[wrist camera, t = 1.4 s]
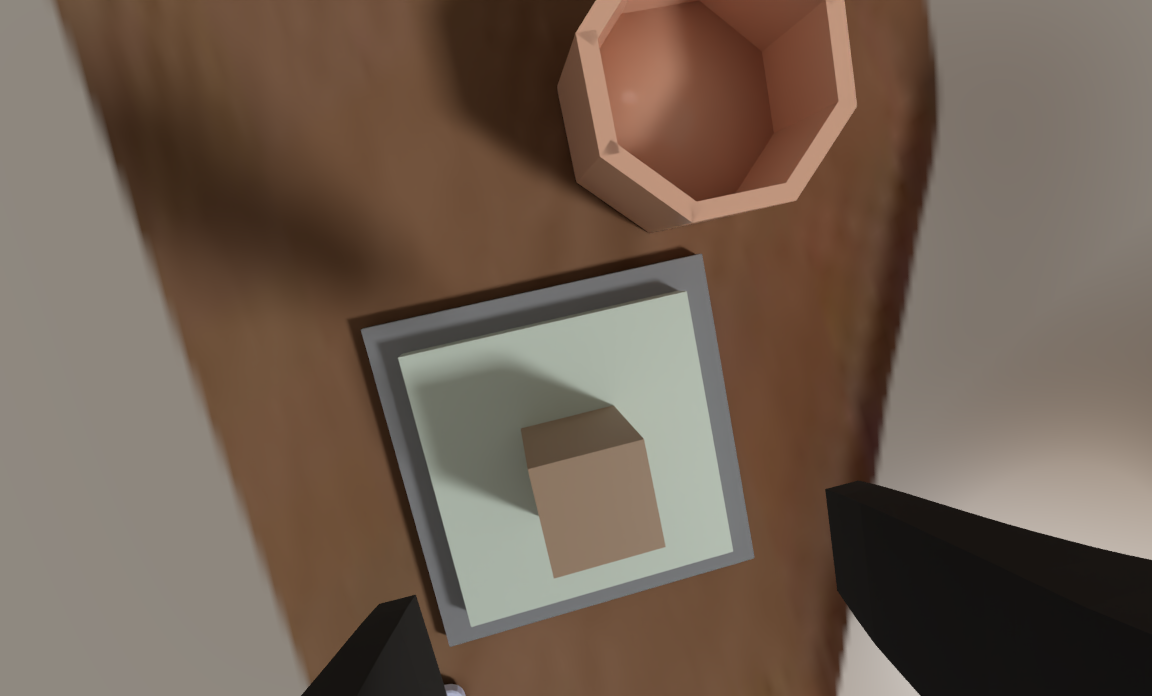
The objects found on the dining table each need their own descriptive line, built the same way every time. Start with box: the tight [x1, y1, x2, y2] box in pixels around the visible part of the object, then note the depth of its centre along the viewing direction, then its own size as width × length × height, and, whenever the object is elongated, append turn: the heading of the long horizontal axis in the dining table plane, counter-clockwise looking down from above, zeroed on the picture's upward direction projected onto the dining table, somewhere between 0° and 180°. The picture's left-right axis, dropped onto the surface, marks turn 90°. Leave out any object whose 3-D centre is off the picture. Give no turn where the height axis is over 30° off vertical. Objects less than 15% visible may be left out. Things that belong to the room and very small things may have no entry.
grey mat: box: [361, 254, 754, 647], centre depth 19 cm, size 11×11×1 cm
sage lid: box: [398, 291, 733, 627], centre depth 16 cm, size 9×9×4 cm
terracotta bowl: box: [557, 0, 857, 233], centre depth 16 cm, size 7×7×4 cm
